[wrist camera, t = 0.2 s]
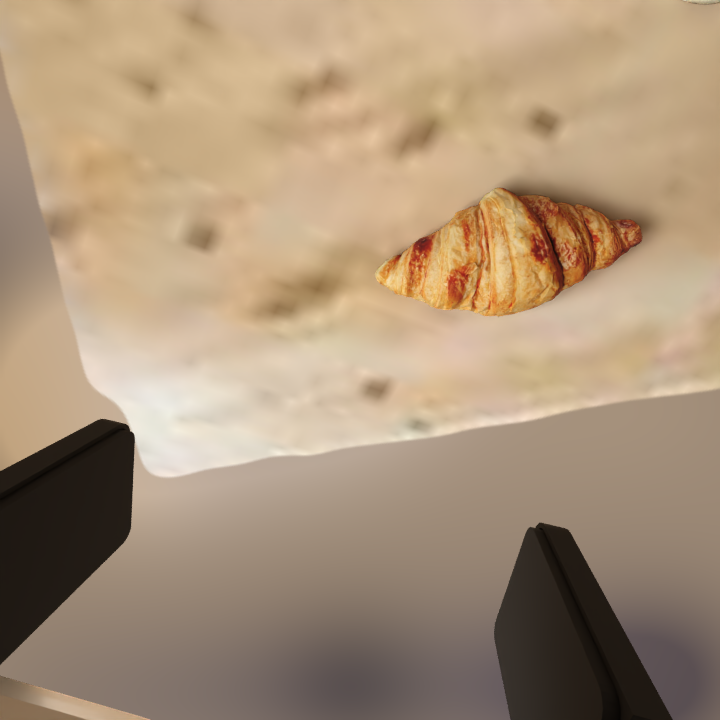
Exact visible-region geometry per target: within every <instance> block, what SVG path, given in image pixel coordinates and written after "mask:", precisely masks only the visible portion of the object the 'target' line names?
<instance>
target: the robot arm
mask: <svg viewBox="0 0 720 720" xmlns="http://www.w3.org/2000/svg"><path fill="white" fill-rule="evenodd" d="M134 444H135V437H134V434H133V433H132V432H130V429H129V426H128V425H126V424H123V423H119V422H115V421H111V420H106V419H100V420H97V421H95V422H93V423H92V424H90V425H88V426H86V427H84V428H82V429H80V430H78V431H76V432H74V433H73V434H70V435H69V436H67V437H65V438H63V439H61V440H59V441H57V442H55V443H53V444H51V445H50V446H48V447H46V448H44V449H42V450H40V451H38V452H37V453H35V454H32V455H31V456H29V457H27V458H25V459H23V460H21V461H19V462H17V463H15V464H13V465H11V466H10V467H8V468H6V469H4V470H2V471H0V664H1V663H2V662H3V661H4V660H6V658H8V656H10V655H11V653H12V652H14V651H15V650H16V649H17V648H18V647H19V646H20V645H21V644H22V643H23V642H24V641H25V640H26V639H27V638H28V637H29V636H30V635H31V634H32V633H33V632H34V631H35V630H36V629H37V628H38V627H39V626H40V625H41V624H42V623H43V622H44V621H45V620H46V619H47V618H48V617H49V616H50V615H51V614H52V613H53V612H54V611H55V610H56V609H57V608H58V607H59V606H60V605H61V604H62V603H63V602H64V601H65V600H66V599H67V598H68V597H69V596H70V595H71V594H72V593H73V592H74V591H75V590H76V589H77V588H78V587H79V586H80V585H81V584H82V583H83V582H84V581H85V580H86V579H87V578H89V577H90V576H91V574H92V573H93V572H94V571H95V570H97V569H98V568H99V567H100V565H101V564H103V563H104V562H105V561H106V560H107V559H108V558H109V557H110V556H111V555H112V554H113V553H114V552H115V551H116V550H117V549H118V548H119V547H120V546H121V545H122V544H123V543H124V541H125V540H126V539H127V537H128V535H129V532H130V529H131V515H132V514H131V513H132V491H133V467H134V466H133V465H134ZM494 630H495V631H494V638H495V644H496V649H497V654H498V659H499V664H500V669H501V674H502V679H503V684H504V689H505V694H506V699H507V704H508V709H509V714H510V719H511V720H672V718H671V716H670V714H669V712H668V711H667V709H666V707H665V705H664V703H663V701H662V699H661V697H660V696H659V694H658V692H657V690H656V688H655V687H654V685H653V683H652V681H651V679H650V677H649V676H648V674H647V672H646V670H645V668H644V666H643V665H642V663H641V661H640V659H639V657H638V655H637V654H636V652H635V650H634V648H633V646H632V644H631V643H630V641H629V639H628V637H627V635H626V634H625V632H624V630H623V628H622V626H621V624H620V623H619V621H618V619H617V617H616V615H615V613H614V612H613V610H612V608H611V606H610V604H609V603H608V601H607V599H606V597H605V595H604V593H603V592H602V590H601V588H600V586H599V584H598V582H597V581H596V579H595V577H594V575H593V573H592V572H591V570H590V568H589V566H588V564H587V562H586V560H585V559H584V557H583V555H582V553H581V551H580V549H579V548H578V546H577V544H576V542H575V540H574V539H573V537H572V535H571V533H570V532H569V530H567V529H565V528H561V527H557V526H553V525H549V524H544V523H539V524H538V525H537V526H536V528H532V527H530V528H529V529H528V530H527V532H526V534H525V537H524V540H523V543H522V546H521V549H520V552H519V555H518V558H517V561H516V564H515V566H514V569H513V572H512V575H511V578H510V581H509V584H508V587H507V590H506V593H505V596H504V599H503V602H502V604H501V608H500V610H499V613H498V616H497V619H496V622H495V629H494ZM0 720H151V719H147V718H144V717H140V716H137V715H133V714H130V713H127V712H123V711H120V710H117V709H113V708H110V707H106V706H103V705H100V704H96V703H93V702H89V701H86V700H82V699H79V698H75V697H72V696H68V695H65V694H62V693H58V692H55V691H51V690H48V689H44V688H41V687H37V686H34V685H30V684H27V683H23V682H20V681H17V680H13V679H10V678H6V677H2V676H0Z"/></svg>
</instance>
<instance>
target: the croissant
mask: <svg viewBox="0 0 720 720" xmlns="http://www.w3.org/2000/svg"><path fill="white" fill-rule="evenodd" d="M641 241H642V234H641V229H640V226H638V225H637V224H636V223H635V222H634V221H632V220H621V219H620V220H613V221H612V220H608V219H607V218H606V217H605V216H604V215H603V214H601V213H599V212H597V211H595V210H594V209H592V208H589V207H586V206H581V205H579V204H576V205H575V206H571V205H569V204H567V203H561V202H560V203H554V202H553V201H551V200H550V198H549V197H544V196H537V195H524V196H516V195H515V194H513V193H512V192H510V191H508V190H506V189H504V188H495V189H494V190H493V191H492V192H490V193H487V194H486V195H485V196H484V197H483V199H482V200H481V201H480V203H479V204H478V206H473V207H469V208H468V209H465V210H462V211H459V212H457V213H456V214H455V217H453V218H452V220H451V222H449V223H448V224H446V225H445V226H444V227H443V228H442V229H440V230H439V231H437V232H435V233H433V234H431V235H429V236H426V237H423V238H421V239H419V240H418V241H416V242H415V243H414V244H412V246H411V247H410V248H408V249H407V250H406V251H404V252H403V253H402V255H397V256H394V257H391V258H390V259H388V260H386V261H385V263H384V264H383V265H381V266H380V267H379V268H378V269H377V271H376V273H375V276H376V279H377V280H378V282H379V283H380V284H382V285H383V286H385V287H388V289H389V290H391V291H394V292H395V294H399V295H403V296H406V297H412V298H414V299H416V300H418V301H423V302H425V303H427V304H428V305H429V306H431V307H434V308H438V309H443V310H452V309H460V310H470V311H473V312H475V313H480V314H482V315H484V316H495V315H496V316H503V315H509V314H515V313H518V312H521V311H524V310H528V309H531V308H534V307H537V306H539V305H541V304H543V303H544V302H547V301H550V300H552V299H554V298H555V296H556V295H558V294H559V293H560V292H561V291H562V290H564V289H566V288H568V287H571V286H572V285H574V284H575V283H578V282H580V281H582V280H583V279H584V277H585V276H586V275H587V273H589V272H590V271H591V270H598V269H602V268H606V267H608V266H610V265H612V264H613V263H614V262H615V261H616V260H617V259H618V258H619V257H620V256H621V255H623V254H624V253H626V252H627V251H628V250H629V249H630V248H631V247H634V246H636V245H638V244H639V243H640V242H641Z"/></svg>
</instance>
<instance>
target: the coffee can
mask: <svg viewBox="0 0 720 720" xmlns="http://www.w3.org/2000/svg"><path fill="white" fill-rule="evenodd" d="M683 1H687V2H690V3H697V4H713V3H718V2H720V0H683Z"/></svg>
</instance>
